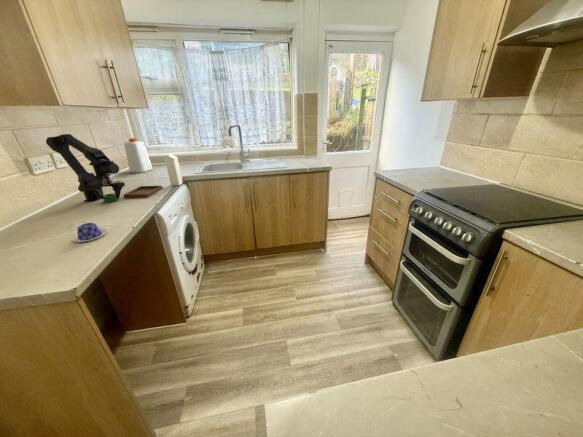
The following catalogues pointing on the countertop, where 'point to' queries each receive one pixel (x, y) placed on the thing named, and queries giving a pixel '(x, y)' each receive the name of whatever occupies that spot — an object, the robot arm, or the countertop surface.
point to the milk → (173, 170)
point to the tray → (142, 192)
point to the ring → (110, 198)
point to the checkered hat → (88, 232)
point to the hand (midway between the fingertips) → (110, 199)
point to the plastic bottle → (137, 156)
